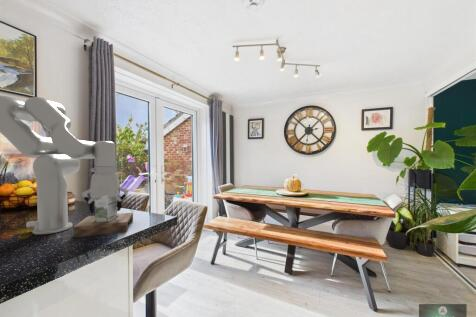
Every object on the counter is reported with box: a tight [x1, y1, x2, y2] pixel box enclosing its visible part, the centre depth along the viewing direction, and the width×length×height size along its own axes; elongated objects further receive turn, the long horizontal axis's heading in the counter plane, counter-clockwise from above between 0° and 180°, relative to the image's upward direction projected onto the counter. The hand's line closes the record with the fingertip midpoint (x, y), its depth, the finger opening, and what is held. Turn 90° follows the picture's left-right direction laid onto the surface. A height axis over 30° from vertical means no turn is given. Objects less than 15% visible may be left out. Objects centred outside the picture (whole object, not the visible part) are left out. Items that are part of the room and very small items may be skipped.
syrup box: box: [94, 195, 117, 222], centre depth 89 cm, size 6×6×14 cm
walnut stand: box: [72, 212, 134, 238], centre depth 89 cm, size 18×15×4 cm
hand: (106, 211), depth 89 cm, fingers open, 9 cm apart
